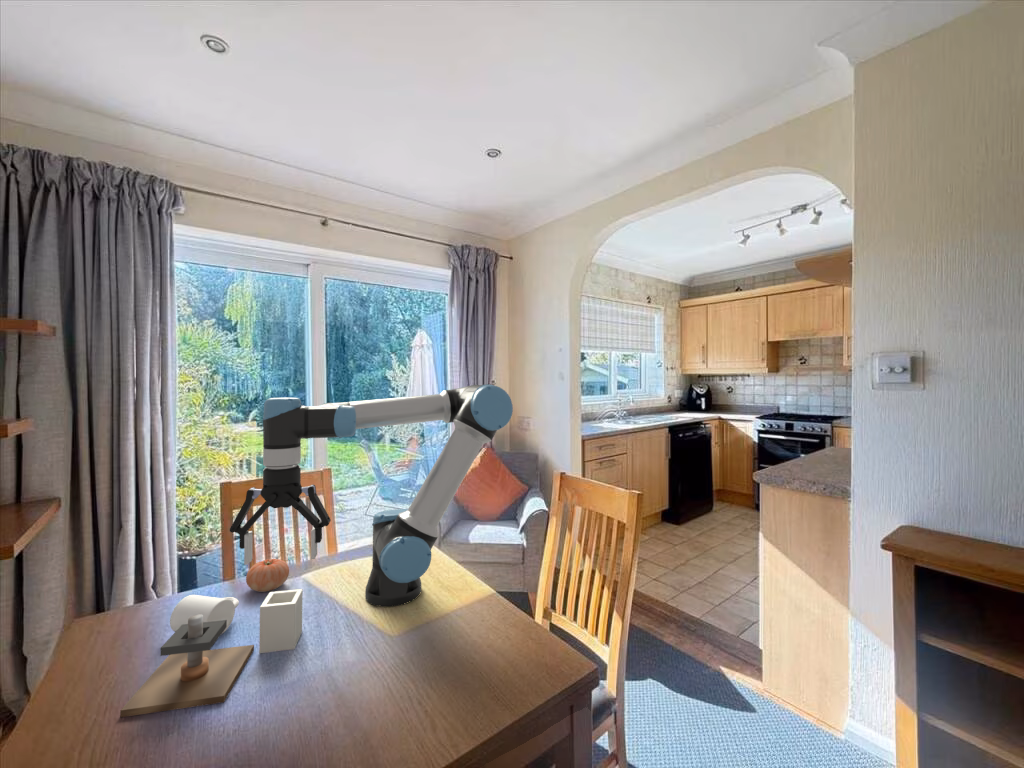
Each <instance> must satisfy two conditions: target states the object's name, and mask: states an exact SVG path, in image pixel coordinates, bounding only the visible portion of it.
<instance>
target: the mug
mask: <svg viewBox="0 0 1024 768" xmlns="http://www.w3.org/2000/svg"><path fill="white" fill-rule="evenodd" d="M239 604H240V602H239V600H238V598H235V597H233V596H228V597H227V596H226V597H214V596H207V595H200V594H199V595H198V594H190V595H187V596H185V597H183V598H182V599H181V600H180V601H179V602H177V604H176V605H175V607H174V608H173V610H172V612H171V614H170V618H169V625H170V629H171V630H172V631H173V632H174V633H175V632H176V631H177V630H178V629H179V627H180V626H181V625H183V624H188V619H189V618H190V617H192V616H194V615H203V622H211V621H221V620H227V627H226V628H225V630H224V631H223V633H222V634H221V635H220V636H222V635H223V634H224V633H225V632H226V631H227V630H228V629H229V627H230V626H231V625H232V622H233V621H234V617H235V613H236V608H237V607H238V606H239Z"/></svg>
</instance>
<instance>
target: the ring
mask: <svg viewBox="0 0 1024 768" xmlns="http://www.w3.org/2000/svg"><path fill="white" fill-rule="evenodd" d="M226 627H227V620H221V621H211V622H203V636H202V637H198V638H189V639H188V624H183V625H181V626H180V627H179V629H178V630H177V631H176V632H174V633H173V634H172V635H171V636H170V637H169V638H168V639H167V640H166V641H165V642H164V643H163V644H162V646H160V654H159V655H160V657H161V656H163V657H164V656H169V655H172V654H181V653H189V652H198V651H206V650H212V648H213V646H214V645H215V644H216V642H217V640H218V639H219V638H220V637H221V636H222V635H223V634H224V633H223V631H224V630H225V628H226ZM222 633H223V634H222ZM221 634H222V635H221Z"/></svg>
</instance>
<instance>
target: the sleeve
mask: <svg viewBox="0 0 1024 768" xmlns="http://www.w3.org/2000/svg"><path fill="white" fill-rule="evenodd" d="M303 591H304V590H303V589H302V588H299V589H288V590H287V589H286V590H277V591H269V593H268V594H267V596H266V597H265V598H264V600H263V602H262V604H261V605H260V606H259V641H258V642H259V645H258V646H259V652H258V653H259V654H264V653H265V654H266V653H273V652H282V651H291V650H295V649H296V647H297V644H298V642H299V640H300V639H301V638H300V637H301V635H302V632H303V597H304V595H303V594H304V593H303Z"/></svg>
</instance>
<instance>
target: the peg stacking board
mask: <svg viewBox="0 0 1024 768" xmlns="http://www.w3.org/2000/svg"><path fill="white" fill-rule="evenodd" d="M202 636H203V615H194V616H192V617H190V618H189V619H188V639H189V638H198V637H202ZM254 651H255V644H250V645H241V646H240V645H239V646H231V647H223V648H216V649H210V650H206V651H198V652H189V653H181V654H172V655H167V657H166V658H165V659H164V660H163V661H162V662H161V663H160V665H159V666H158V667H157V668H156V669H155V670H154V672H153V673H152V674H151V675H150V676H149V677H148V678H147V679H146V681H145V682H144V683H143V684H142V685H141V687H140V688H138V690H137V691H136V692H135V693H134V695H132V697H130V699H129V700H128V701H127V702H126V703H125V705H123V707H121V709H120V715H119V716H120V718H125V717H133V716H140V715H147V714H151V713H152V714H154V713H160V712H165V711H174V710H180V709H187V708H188V709H189V708H195V707H200V706H201V707H202V706H208V705H216V704H221V703H225V701H226V700H227V698H228V696H229V694H230V693H231V691H232V689H233V688H234V686H235V684H236V682H237V681H238V679H239V677H240V675H241V673H242V671H243V670H244V668H245V667H246V665H247V663H248V662H249V660H250V658H251V657H252V655H253V653H254Z"/></svg>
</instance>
